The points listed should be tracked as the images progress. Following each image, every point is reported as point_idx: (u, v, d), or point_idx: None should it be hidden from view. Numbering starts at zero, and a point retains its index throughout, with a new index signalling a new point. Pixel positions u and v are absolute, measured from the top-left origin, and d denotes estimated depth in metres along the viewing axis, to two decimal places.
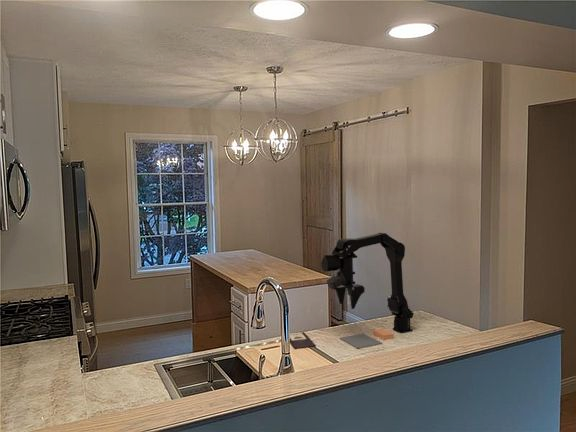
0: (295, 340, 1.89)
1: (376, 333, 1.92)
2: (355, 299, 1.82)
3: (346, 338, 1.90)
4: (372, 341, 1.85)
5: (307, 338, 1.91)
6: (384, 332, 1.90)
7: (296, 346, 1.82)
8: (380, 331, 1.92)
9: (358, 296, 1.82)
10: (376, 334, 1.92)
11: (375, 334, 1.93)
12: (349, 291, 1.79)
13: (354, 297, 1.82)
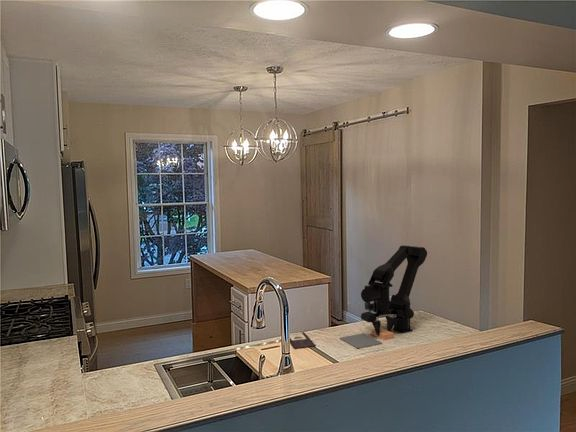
0: (295, 340, 1.89)
1: None
2: (376, 326, 1.89)
3: (346, 338, 1.90)
4: (372, 341, 1.85)
5: (307, 338, 1.91)
6: (384, 332, 1.90)
7: (296, 346, 1.82)
8: (380, 331, 1.92)
9: (376, 324, 1.88)
10: (376, 334, 1.92)
11: (375, 334, 1.93)
12: None
13: (375, 324, 1.90)
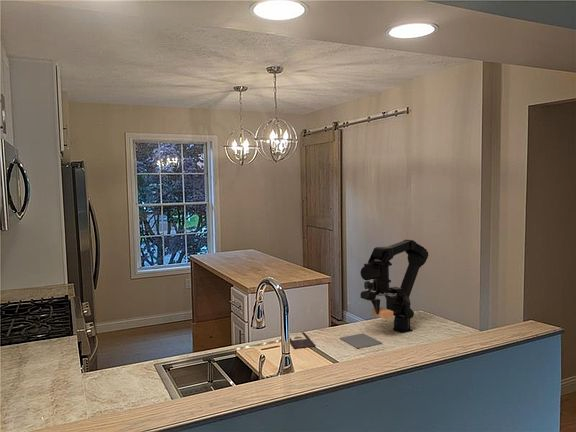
0: (295, 340, 1.89)
1: (375, 311, 1.91)
2: (375, 305, 1.89)
3: (346, 338, 1.90)
4: (372, 341, 1.85)
5: (307, 338, 1.91)
6: (383, 310, 1.90)
7: (296, 346, 1.82)
8: (379, 309, 1.92)
9: (376, 303, 1.87)
10: (375, 312, 1.91)
11: (374, 312, 1.92)
12: None
13: (375, 303, 1.89)
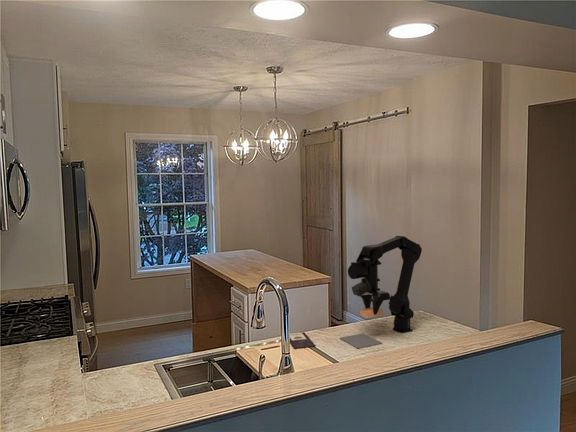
0: (295, 340, 1.89)
1: (372, 312, 1.86)
2: (377, 305, 1.85)
3: (346, 338, 1.90)
4: (372, 341, 1.85)
5: (307, 338, 1.91)
6: None
7: (296, 346, 1.82)
8: (370, 310, 1.88)
9: (380, 302, 1.85)
10: (372, 313, 1.86)
11: (370, 314, 1.86)
12: (375, 298, 1.80)
13: (376, 303, 1.85)
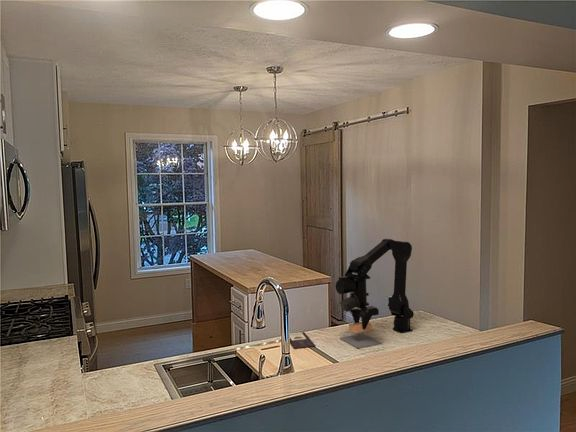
0: (295, 340, 1.89)
1: (360, 327, 1.84)
2: (366, 320, 1.83)
3: (346, 338, 1.90)
4: (372, 341, 1.85)
5: (307, 338, 1.91)
6: None
7: (296, 346, 1.82)
8: (359, 324, 1.86)
9: (369, 317, 1.83)
10: (360, 328, 1.84)
11: (359, 329, 1.84)
12: (363, 313, 1.78)
13: (365, 318, 1.83)
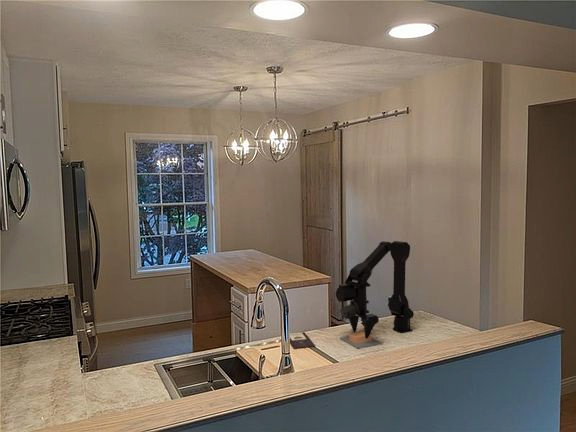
0: (295, 340, 1.89)
1: (360, 338, 1.84)
2: (369, 329, 1.82)
3: (346, 338, 1.90)
4: (372, 341, 1.85)
5: (307, 338, 1.91)
6: (363, 334, 1.87)
7: (295, 346, 1.82)
8: (359, 335, 1.86)
9: (372, 326, 1.82)
10: (360, 339, 1.84)
11: (359, 340, 1.84)
12: (363, 321, 1.79)
13: (368, 327, 1.81)
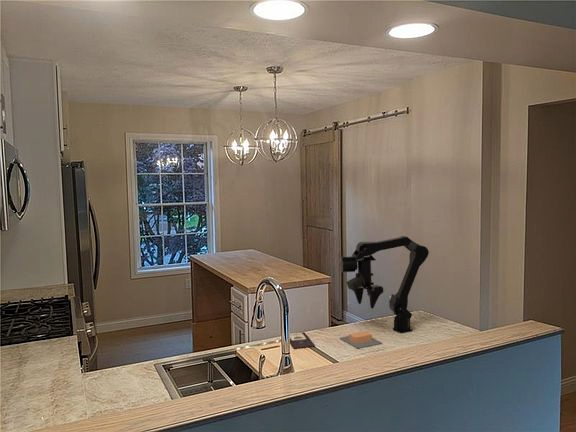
0: (295, 340, 1.89)
1: (360, 338, 1.84)
2: (374, 299, 1.92)
3: (346, 338, 1.90)
4: (372, 341, 1.85)
5: (307, 338, 1.91)
6: (363, 334, 1.87)
7: (295, 346, 1.82)
8: (359, 335, 1.86)
9: (377, 296, 1.92)
10: (360, 339, 1.84)
11: (359, 340, 1.84)
12: (369, 292, 1.89)
13: (373, 297, 1.92)
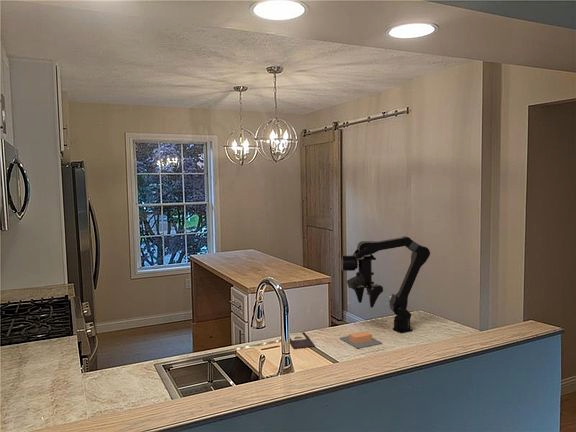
0: (295, 340, 1.89)
1: (360, 338, 1.84)
2: (374, 298, 1.93)
3: (346, 338, 1.90)
4: (372, 341, 1.85)
5: (307, 338, 1.91)
6: (363, 334, 1.87)
7: (295, 346, 1.82)
8: (359, 335, 1.86)
9: (377, 295, 1.93)
10: (360, 339, 1.84)
11: (359, 340, 1.84)
12: (369, 291, 1.90)
13: (373, 296, 1.93)
